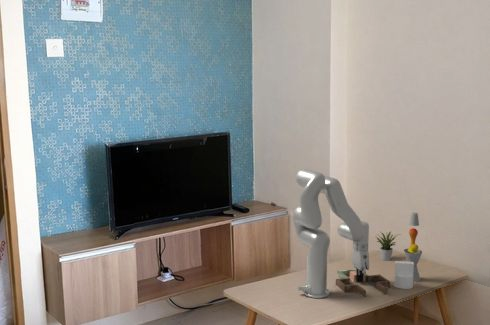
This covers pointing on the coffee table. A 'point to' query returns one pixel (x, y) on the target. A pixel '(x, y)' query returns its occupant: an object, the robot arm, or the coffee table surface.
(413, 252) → the lava lamp
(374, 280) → the box
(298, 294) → the coffee table surface
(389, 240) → the house plant
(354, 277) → the terracotta block
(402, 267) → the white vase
